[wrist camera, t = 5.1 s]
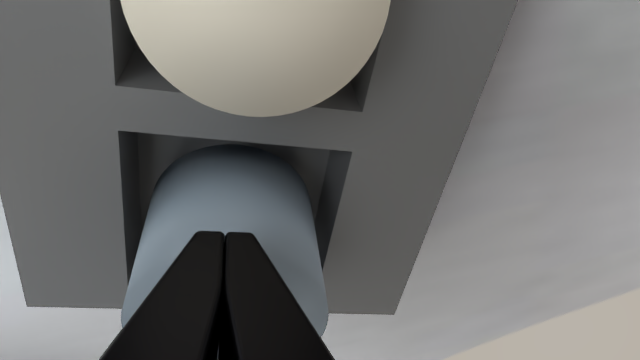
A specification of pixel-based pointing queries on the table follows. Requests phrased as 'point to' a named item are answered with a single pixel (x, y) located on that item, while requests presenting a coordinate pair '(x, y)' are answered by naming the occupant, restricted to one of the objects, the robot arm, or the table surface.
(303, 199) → the blue button
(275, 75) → the cream button
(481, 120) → the table surface
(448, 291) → the table surface
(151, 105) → the console
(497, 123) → the table surface
